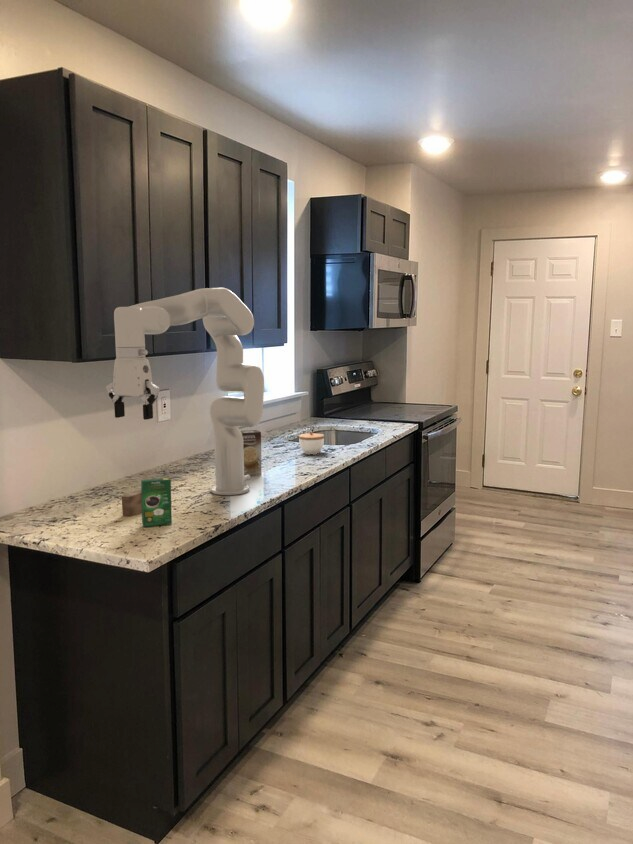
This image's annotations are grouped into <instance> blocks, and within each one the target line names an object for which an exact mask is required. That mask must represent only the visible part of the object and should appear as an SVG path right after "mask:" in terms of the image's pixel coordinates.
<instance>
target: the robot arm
mask: <svg viewBox="0 0 633 844" xmlns="http://www.w3.org/2000/svg"><path fill="white" fill-rule="evenodd" d="M254 318H255V317H254V315H253V313H252V312H251V310H250V308H249V307H248V306H247V305H246V304H245V303H244V302H243V301H242V300H241V299H240V298H239V297H238V296H237V295H236V294H235V293H234V292H232V290H230V289H229V288H225V287H209V288H208V287H206V288H205V287H204V288H198V289H197V288H196V289H194V290H190V291H188V292H183V293H180V294H176V295H172V296H168V297H164V298H159V299H155V300H149V301H144V302H141V303H136V304H134V305H130V306H117V307H116V308H115V309H114V312H113V321H114V337H115V338H114V339H115V341H114V342H115V359H114V365H113V377H112V378H113V381H112V382H110V383H109V384H107V385H106V386H105V388H106V391H107V393H108V396H109V398H110V400H111V402H112V403H113V404H114V408H113V409H114V418H115V419H118V418H122V417H123V418H124V417H125V415H126V414H125V401H123V400H124V398H125V397H128V398H140V399H141V400H142V402H143V403H144V404H142V414H143V420H145V421H147V420H151V419H153V418H154V407H153V405H154V404H155V401H156V400H157V398H158V396H159V393H160V391H161V390H160V389H161V388H160V387H159V386H158V385H156V384H154V382H153V375H152V374H153V373H152V369H151V364H150V361H149V359H148V358H146V355H148V353H149V351H148V350H147V349H146V339H145V335H160V334H163V333H165V332H166V331H167V330H168V329H169V328H170V327H172V326H174V327H175V326H176V327H177V326H182V325H186V324H189V323H193V322H195V321H198V320H200V319H202V324H203V327H204V329H205V330H206V332H207V333H208V334H209V336H210V337H211V339H212V340H213V342H214V343H215V347H216V369H215V370H216V371H215V372H216V374H215V375H216V376H215V379H216V380H215V381H216V386H217V389H218V390H220V391H221V392H224V393H233V394H234V393H237V394H243V396H228V395H227V396H220V397H216V398H215V399H213V401H212V402H211V404H210V408H209V415H210V419H211V423H212V429H213V437H214V439H213V442H214V443H213V445H214V467H215V468H214V470H215V485H214V486H212V487H211V488H210V489H211V490H210V492H211V493H212V494H214V495H217V496H218V495H219V496H237V495H243V494H245V493H248V492H249V491H250V486H249V485H248V484H246V482H247V481H250V479H251V476H250V475H248V474H247V475H244V450H243V436H242V433H241V431H242V430H240V428H239V427H241V428H242V427H243V428H244V427H245V428H255V427H257V426H258V425H259V424H260V423H261V421H262V419H263V413H264V395H265V394H264V393H265V392H264V391H265V389H264V388H265V377H264V373H263V370H262V369H261V368H260V366H259V365H257V364H255V363H244V347H243V345H242V342H241V340H240V339H239V337H238V336H245V335H248V334H250V333H252V331H253V328H254V327H255V319H254Z"/></svg>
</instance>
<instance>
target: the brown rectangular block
mask: <svg viewBox="0 0 633 844" xmlns="http://www.w3.org/2000/svg"><path fill="white" fill-rule="evenodd" d="M121 507H122V509H121V511H122V516H123V517H133V516H135V515H138V514H140V513H142V498H141V489H139V490H137V491H133V492H131V493H127V494H125V495H122V496H121Z"/></svg>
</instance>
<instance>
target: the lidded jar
mask: <svg viewBox="0 0 633 844" xmlns="http://www.w3.org/2000/svg"><path fill="white" fill-rule="evenodd" d="M309 432H310V433H309ZM309 432H307V433H301V434H299V435H298V439H299V441H298V442H299V447H300V450H301V451H302V452H303V453H304V454H305V455H310V454H313V455H318V454H320V452H321V451H322V450H323V447H324V443H325V434H323V433H317V432H316V433H315V432H313V431H309ZM317 453H318V454H317Z"/></svg>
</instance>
